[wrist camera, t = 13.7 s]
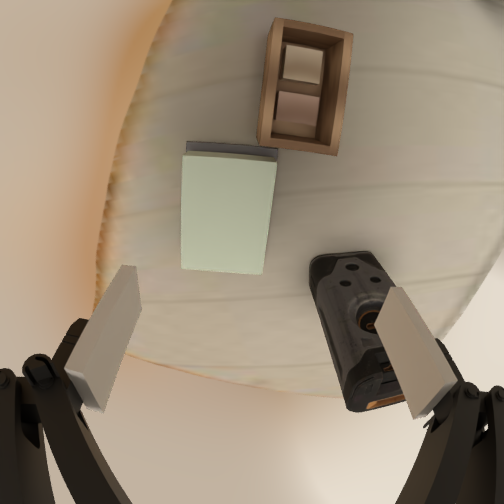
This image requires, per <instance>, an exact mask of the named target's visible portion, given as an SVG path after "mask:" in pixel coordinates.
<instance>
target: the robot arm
mask: <svg viewBox="0 0 504 504" xmlns="http://www.w3.org/2000/svg"><path fill="white" fill-rule="evenodd" d="M141 310H142V307H141V300H140V293H139V286H138V278H137V269H136V266H128V265H122V266H121V267H120V269H119V271H118V272H117V274H116V275H115V277H114V279H113V280H112V282H111V283H110V285H109V287H108V288H107V290H106V292H105V293H104V295H103V297H102V298H101V300H100V302H99V304H98V305H97V307H96V309H95V311H94V312H93V314H92V316H91V318H90V319H89V320H87V319H82V318H79V319H78V320H77V321H76V322H74V323H73V324H72V325H71V326H70V328H69V330H68V331H67V333H66V336H64V338H63V340H62V342H61V344H60V345H59V347H58V349H57V351H56V353H55V355H54V356H53V358H52V360H51V359H50V357H48V356H47V355H45V354H34V355H32V356H30V357H29V358H28V359H27V360H26V361H25V362H24V365H23V367H22V373H23V374H24V376H25V377H16V376H15V374H14V373H13V371H12V370H10V369H6V368H3V369H0V504H55V500H54V496H53V491H52V487H51V482H50V476H49V471H48V465H47V458H46V451H45V444H44V434H43V428H44V431H45V434H46V437H47V440H48V443H49V445H50V448H51V450H52V453H53V456H54V458H55V460H56V463H57V465H58V468H59V470H60V472H61V474H62V476H63V478H64V481H65V483H66V485H67V487H68V489H69V491H70V493H71V495H72V497H73V499H74V501H75V503H76V504H132V502H131V501H130V499H129V498H128V497H127V495H126V493H125V492H124V490H123V489H122V487H121V486H120V484H119V483H118V481H117V479H116V477H115V476H114V474H113V472H112V471H111V469H110V467H109V466H108V464H107V462H106V460H105V458H104V457H103V455H102V453H101V451H100V449H99V447H98V445H97V443H96V441H95V439H94V437H93V435H92V433H91V431H90V429H89V427H88V425H87V423H86V420H85V418H84V416H83V413H82V412H81V410H80V408H81V405H82V403H84V404H85V406H86V408H87V409H89V410H93V411H96V412H100V413H104V411H105V408H106V405H107V401H108V398H109V396H110V392H111V389H112V387H113V384H114V381H115V378H116V375H117V372H118V370H119V367H120V364H121V361H122V359H123V356H124V353H125V351H126V348H127V345H128V343H129V340H130V338H131V335H132V333H133V330H134V328H135V325H136V323H137V320H138V318H139V315H140V313H141ZM374 326H375V328H376V330H377V332H378V335H379V337H380V339H381V341H382V344H383V346H384V348H385V350H386V353H387V355H388V357H389V360H390V362H391V364H392V367H393V369H394V371H395V374H396V376H397V379H398V381H399V384H400V386H401V389H402V391H403V394H404V396H405V399H406V401H407V404H408V407H409V409H410V412H411V415H412V417H413V419H418V418H422V417H426V416H427V415H428V414H429V413H430V412H431V411H432V410H433V411H434V416H433V417H432V418H431V419H430V420H429V421H428V422H427V423H426V424H425V425H424V426H423V428H425V427H426V426H427V425H428V424H429V427H428V429H427V432H426V435H425V438H424V441H423V443H422V446H421V449H420V451H419V454H418V456H417V459H416V461H415V463H414V466H413V468H412V470H411V472H410V475H409V477H408V479H407V481H406V483H405V485H404V487H403V489H402V491H401V493H400V495H399V497H398V499H397V501H396V503H395V504H504V388H503V387H501V386H494V387H493V388H492V389H491V390H490V391H489V392H482V391H479V389H478V388H477V386H476V385H474V384H473V383H470V382H465V381H464V379H463V377H462V375H461V373H460V372H459V370H458V368H457V366H456V364H455V363H454V361H452V357H451V356H450V355H449V352H448V350H447V349H446V347H445V345H444V344H443V343H442V342H441V341H440V340H439V339H438V338H436V339H434V337H433V335H432V334H431V332H430V330H429V329H428V327H427V325H426V324H425V322H424V321H423V319H422V317H421V316H420V314H419V313H418V311H417V309H416V308H415V306H414V305H413V303H412V302H411V300H410V299H409V297H408V295H407V294H406V292H405V291H404V289H403V288H402V287H390V290H389V292H388V295H387V297H386V299H385V302H384V304H383V306H382V308H381V311H380V313H379V315H378V317H377V319H376V322H375V324H374ZM487 424H488V429H487V430H486V431H485V430H484V427H485V426H486V425H487Z"/></svg>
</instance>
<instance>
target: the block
mask: <svg viewBox="0 0 504 504" xmlns="http://www.w3.org/2000/svg"><path fill="white" fill-rule="evenodd" d="M276 170H277V161H276V160H275V158H274V157H266V156H256V155H245V154H233V153H220V152H204V151H187V152H186V153H185V154H184V155H183V159H182V188H181V269H190V270H203V271H215V272H228V273H242V274H256V275H262V271H263V265H264V257H265V250H266V243H267V236H268V229H269V222H270V215H271V207H272V200H273V192H274V185H275V178H276Z"/></svg>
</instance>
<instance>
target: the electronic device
mask: <svg viewBox="0 0 504 504" xmlns="http://www.w3.org/2000/svg"><path fill="white" fill-rule="evenodd" d="M309 286H310V290H311V293H312V296H313V299H314V302H315V305H316V308H317V311H318V314H319V317H320V320H321V324H322V328H323V331H324V334H325V337H326V340H327V344H328V347H329V350H330V354H331V357H332V360H333V364H334V367H335V370H336V373H337V376H338V380H339V383H340V386H341V390H342V393H343V397H344V400H345V403H346V408H347V409H348V410H349V411H353V412H364V411H369V410H373V409H377V408H381V407H385V406H389V405H393V404H397V403H400V402H404V401H406V399H405V396H404V394H403V391H402V389H401V386H400V384H399V381H398V379H397V376H396V374H395V371H394V369H393V367H392V364H391V362H390V360H389V357H388V355H387V353H386V350H385V348H384V346H383V344H382V341H381V339H380V337H379V335H378V332H377V330H376V328H375V326H374V324H375V322H376V319H377V317H378V315H379V313H380V311H381V308H382V306H383V304H384V302H385V299H386V297H387V295H388V292H389V290H390V287H396V286H395V284H394V283H393V281H392V280H391V279H390V277H389V276H388V274H387V273H386V272H385V270H384V269H383V268H382V266H381V265H380V263H379V262H378V261H377V259H376V258H375V257H374V255H373V254H372V253H370V252H357V253H346V254H335V255H324V256H319V257H317V258H315V259H314V260H313V261H312V262H311V265H310V275H309Z"/></svg>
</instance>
